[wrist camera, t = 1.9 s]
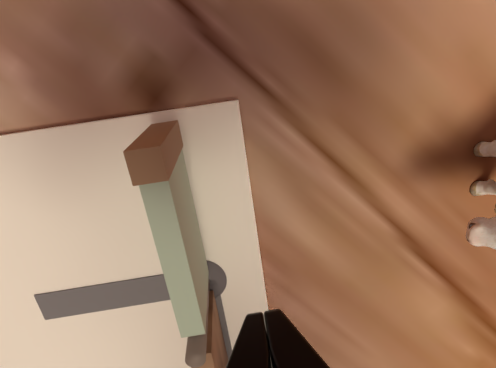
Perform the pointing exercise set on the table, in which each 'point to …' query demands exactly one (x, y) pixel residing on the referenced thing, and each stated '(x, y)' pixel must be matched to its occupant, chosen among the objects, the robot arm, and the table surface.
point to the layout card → (117, 242)
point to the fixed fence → (208, 341)
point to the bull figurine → (480, 228)
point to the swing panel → (172, 221)
